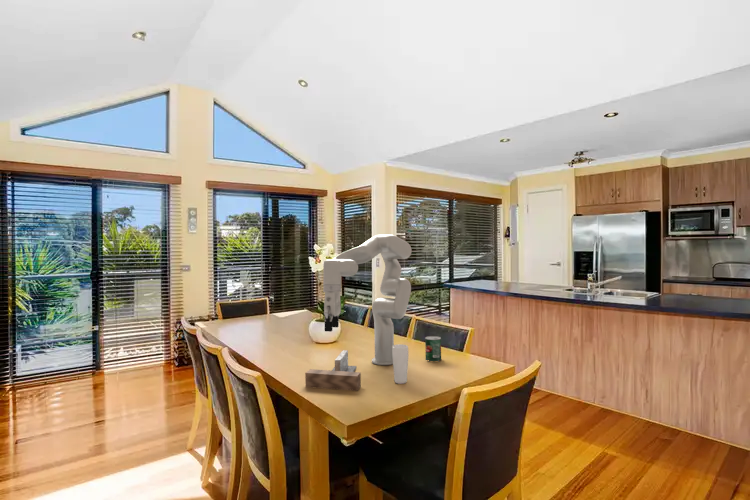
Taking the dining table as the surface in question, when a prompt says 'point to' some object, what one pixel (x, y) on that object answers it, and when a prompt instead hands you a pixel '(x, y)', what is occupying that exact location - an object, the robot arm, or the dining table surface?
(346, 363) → the ridge stand
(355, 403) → the dining table surface
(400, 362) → the drinking glass
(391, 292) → the robot arm
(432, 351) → the canned tomato
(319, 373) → the brown wooden block
